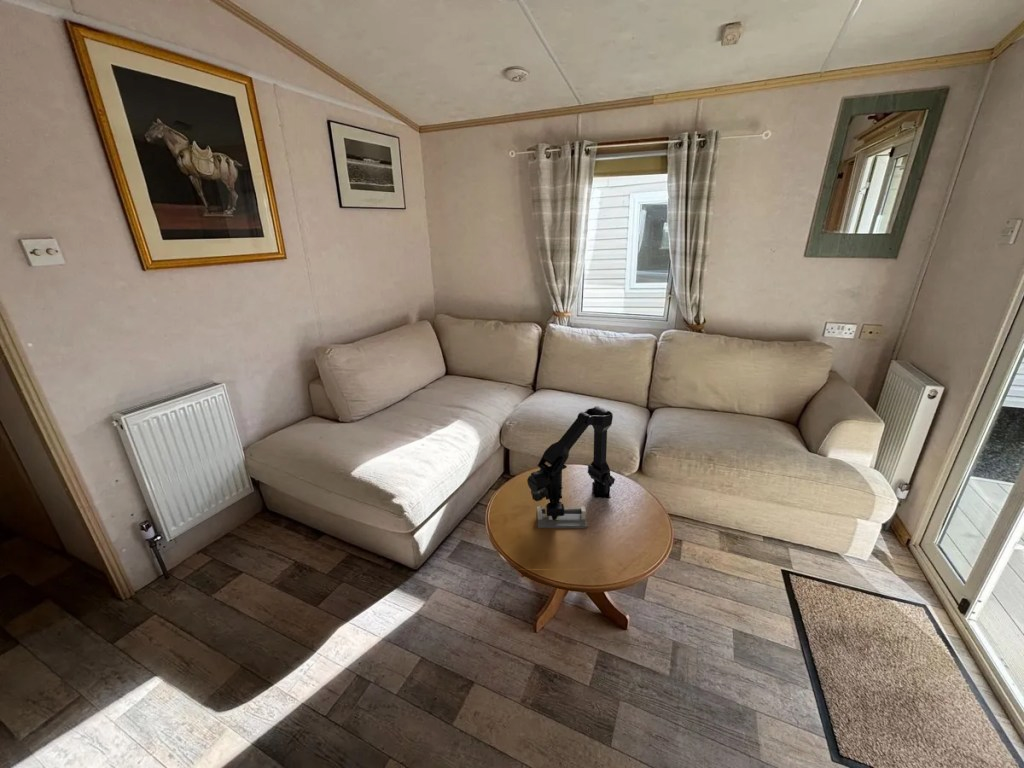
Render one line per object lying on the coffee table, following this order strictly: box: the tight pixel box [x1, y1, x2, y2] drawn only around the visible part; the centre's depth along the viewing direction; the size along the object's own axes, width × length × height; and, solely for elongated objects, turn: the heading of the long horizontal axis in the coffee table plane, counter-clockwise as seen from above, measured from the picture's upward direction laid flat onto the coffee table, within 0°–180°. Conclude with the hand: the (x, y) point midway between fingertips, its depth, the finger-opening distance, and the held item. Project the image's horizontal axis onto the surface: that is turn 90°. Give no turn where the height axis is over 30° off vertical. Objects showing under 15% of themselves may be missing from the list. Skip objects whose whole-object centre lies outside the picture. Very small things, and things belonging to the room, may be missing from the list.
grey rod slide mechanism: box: [536, 505, 588, 529], centre depth 150 cm, size 18×10×5 cm, turn 88°
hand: (553, 515), depth 151 cm, fingers closed on sleeve, 4 cm apart
